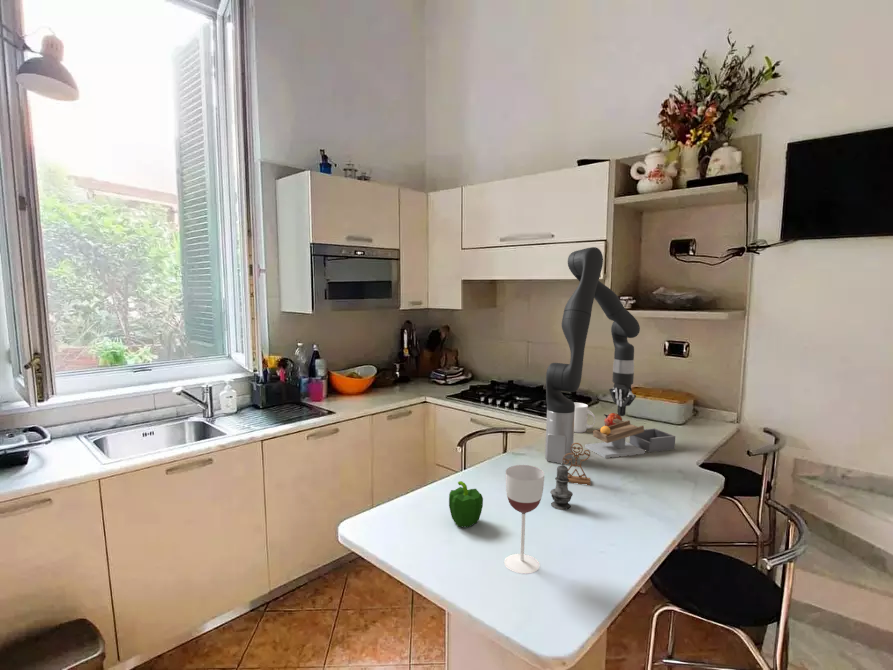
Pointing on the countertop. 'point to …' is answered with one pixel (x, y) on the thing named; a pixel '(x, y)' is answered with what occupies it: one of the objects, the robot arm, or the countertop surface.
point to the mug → (582, 418)
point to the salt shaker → (561, 490)
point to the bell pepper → (465, 505)
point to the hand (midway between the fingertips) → (621, 415)
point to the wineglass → (523, 509)
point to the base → (614, 448)
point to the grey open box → (653, 440)
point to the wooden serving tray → (618, 431)
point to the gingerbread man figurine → (579, 478)
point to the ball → (605, 430)
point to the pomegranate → (611, 419)
